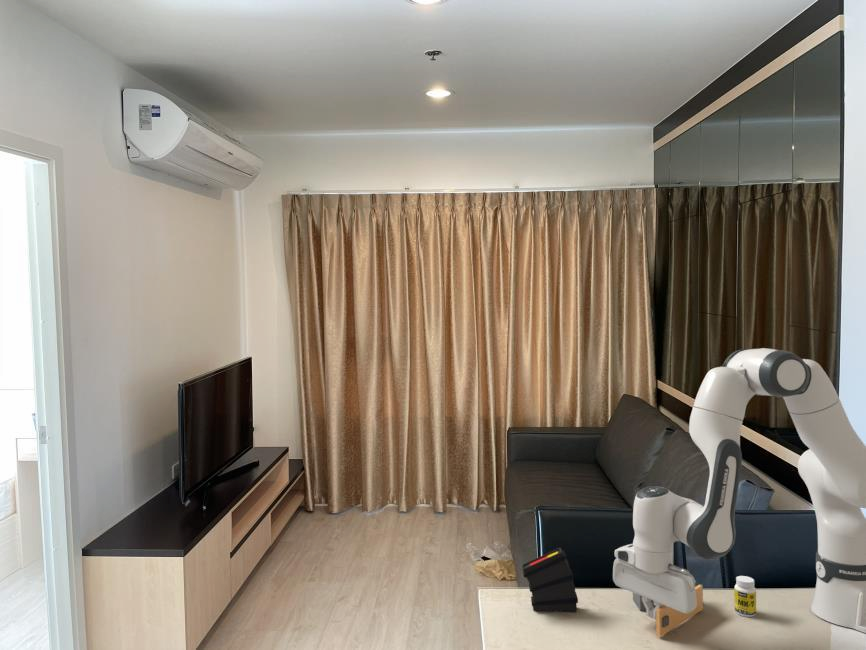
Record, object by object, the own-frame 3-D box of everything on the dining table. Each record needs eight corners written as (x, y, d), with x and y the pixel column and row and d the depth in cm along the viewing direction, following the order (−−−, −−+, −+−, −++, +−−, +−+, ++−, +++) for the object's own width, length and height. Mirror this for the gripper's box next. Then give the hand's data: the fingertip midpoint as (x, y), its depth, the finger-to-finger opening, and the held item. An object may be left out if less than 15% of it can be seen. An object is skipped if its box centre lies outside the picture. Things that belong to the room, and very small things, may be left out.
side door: (700, 608, 159) (700, 584, 159) (705, 610, 158) (705, 585, 158) (656, 635, 147) (656, 609, 146) (662, 637, 146) (661, 611, 145)
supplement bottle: (736, 616, 156) (735, 581, 156) (733, 607, 160) (732, 574, 160) (757, 618, 155) (757, 583, 154) (754, 609, 159) (754, 576, 159)
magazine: (590, 606, 159) (563, 552, 159) (541, 628, 160) (514, 573, 160) (588, 599, 163) (561, 546, 163) (540, 620, 164) (514, 567, 164)
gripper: (702, 568, 143) (702, 630, 143) (625, 542, 159) (625, 598, 159) (686, 576, 139) (686, 639, 139) (608, 548, 155) (609, 605, 156)
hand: (653, 617), depth 150 cm, fingers closed
